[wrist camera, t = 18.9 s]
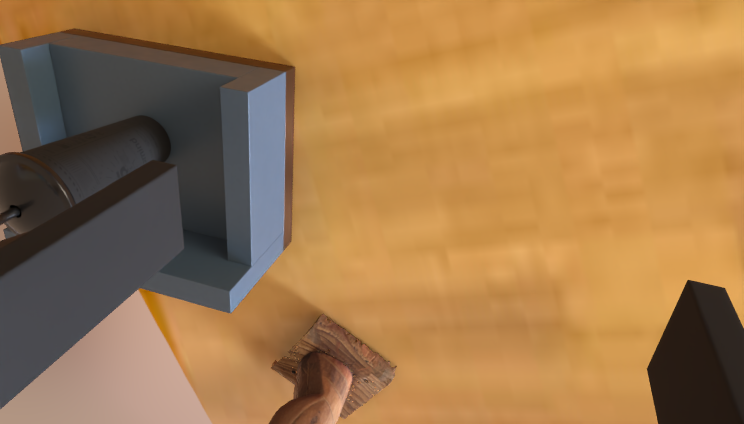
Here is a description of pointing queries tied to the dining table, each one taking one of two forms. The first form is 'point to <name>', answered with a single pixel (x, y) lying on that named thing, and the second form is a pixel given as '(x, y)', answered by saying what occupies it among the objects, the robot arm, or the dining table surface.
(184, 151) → the sofa
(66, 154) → the drinking cup
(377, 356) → the bird sculpture
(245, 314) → the dining table surface
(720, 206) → the dining table surface
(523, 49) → the dining table surface
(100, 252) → the robot arm
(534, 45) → the dining table surface
